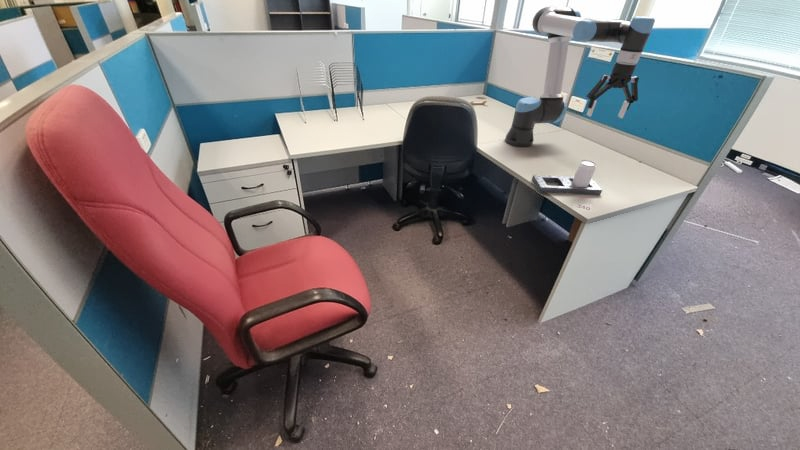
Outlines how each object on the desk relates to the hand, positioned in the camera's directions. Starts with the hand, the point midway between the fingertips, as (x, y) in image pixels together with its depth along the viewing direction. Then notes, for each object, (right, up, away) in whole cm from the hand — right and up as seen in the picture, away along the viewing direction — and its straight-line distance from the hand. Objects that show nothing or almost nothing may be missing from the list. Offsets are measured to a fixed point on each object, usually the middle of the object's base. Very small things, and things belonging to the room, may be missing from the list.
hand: (604, 116), depth 143 cm
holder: (-16, -30, +2) cm, 34 cm away
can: (-10, -31, +2) cm, 33 cm away
